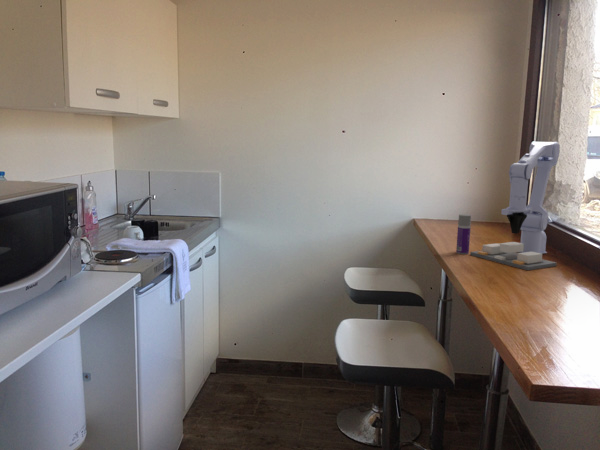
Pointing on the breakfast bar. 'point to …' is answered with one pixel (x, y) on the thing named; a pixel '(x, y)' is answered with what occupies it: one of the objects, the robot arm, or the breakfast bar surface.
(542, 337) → the breakfast bar surface
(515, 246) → the button
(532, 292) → the breakfast bar surface
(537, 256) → the button
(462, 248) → the container
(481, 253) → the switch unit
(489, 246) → the button
